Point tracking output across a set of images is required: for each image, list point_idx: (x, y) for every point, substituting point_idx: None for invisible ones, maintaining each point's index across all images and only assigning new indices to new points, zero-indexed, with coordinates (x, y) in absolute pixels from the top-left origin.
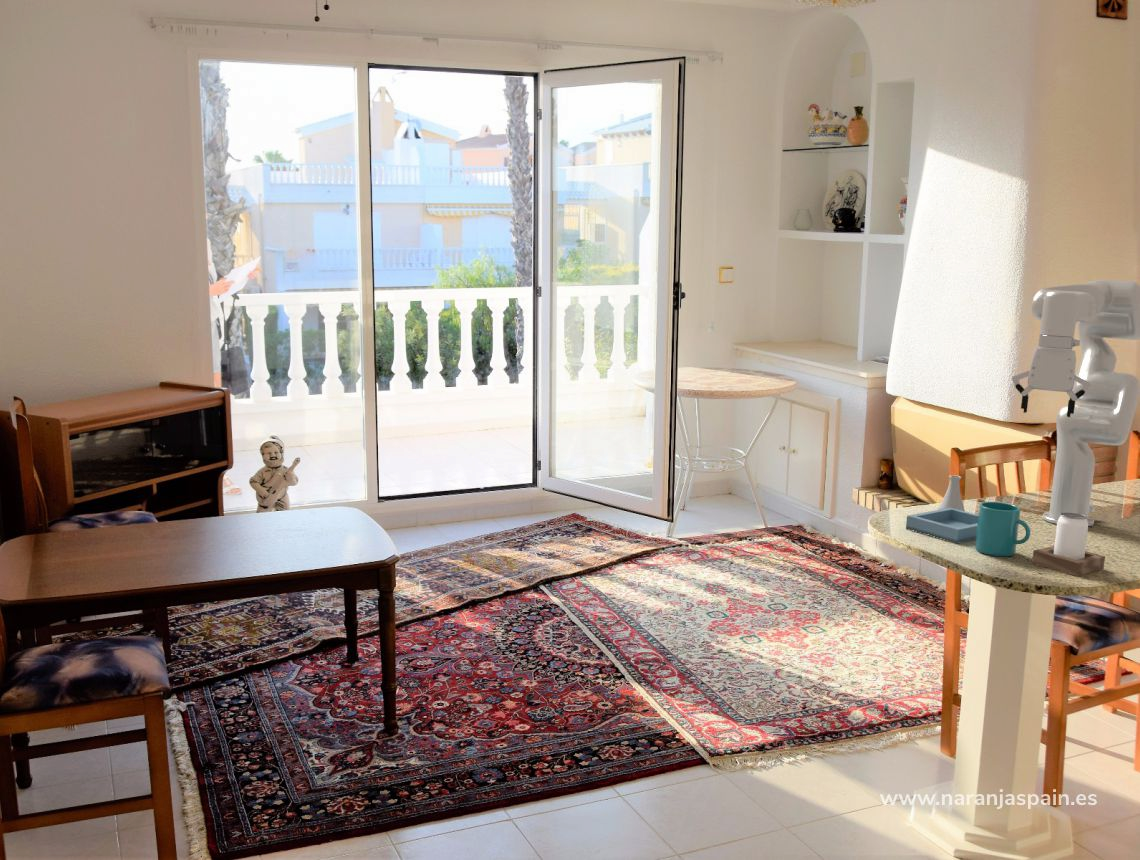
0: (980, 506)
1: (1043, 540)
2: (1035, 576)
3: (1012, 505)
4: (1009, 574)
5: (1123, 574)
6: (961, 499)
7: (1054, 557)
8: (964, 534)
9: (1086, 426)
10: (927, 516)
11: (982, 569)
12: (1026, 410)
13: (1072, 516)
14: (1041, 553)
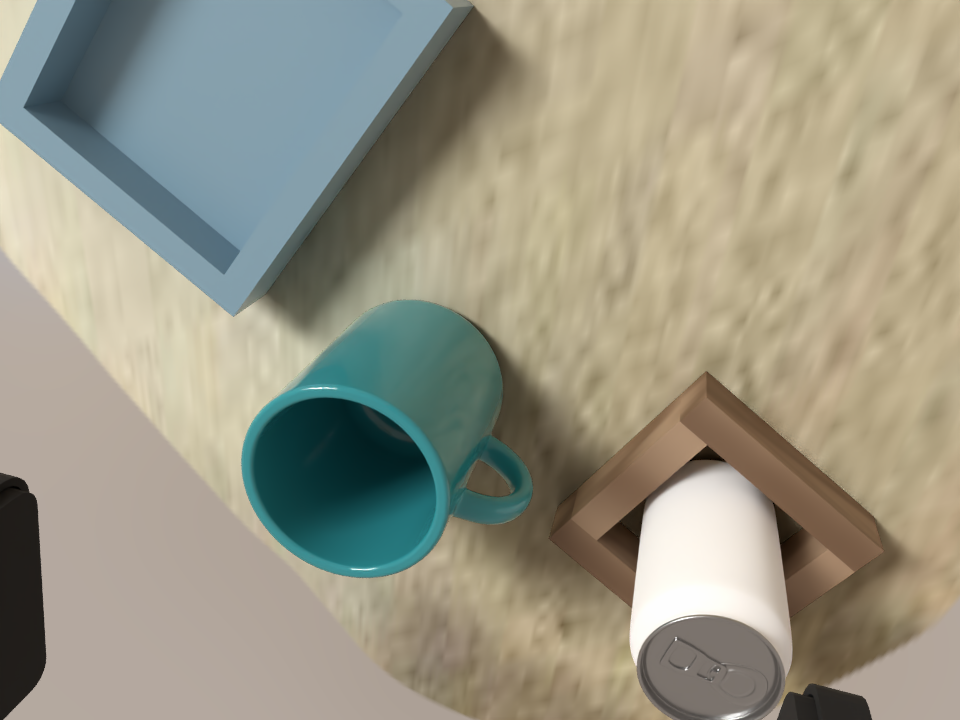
0: (248, 493)
1: (708, 53)
2: (541, 662)
3: (412, 439)
4: (450, 657)
5: (942, 571)
6: None
7: (626, 599)
8: (276, 266)
9: None
10: (75, 19)
11: (361, 621)
12: (16, 701)
13: (705, 660)
14: (579, 562)
